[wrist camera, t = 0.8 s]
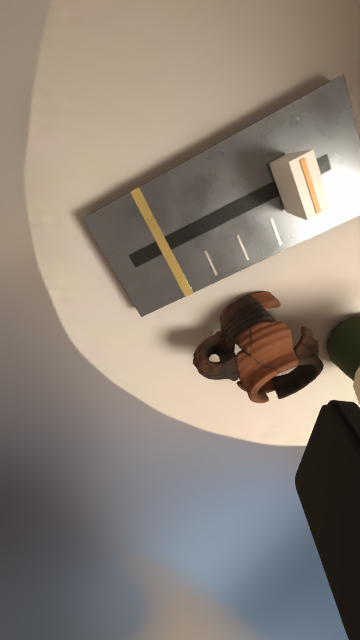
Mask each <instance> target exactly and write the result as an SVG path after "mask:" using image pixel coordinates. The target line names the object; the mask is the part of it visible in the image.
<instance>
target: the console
mask: <svg viewBox="0 0 360 640" xmlns="http://www.w3.org/2000/svg"><path fill="white" fill-rule="evenodd" d="M312 149H313V150H314V153H315V156H316V160H317V163H318V167H319V170H320V173H321V177H322V180H323V184H324V187H325V190H326V194H327V197H328V201H329V204H330V207H331V210H330V211H328V212H326V213H323V214H321V215H319V216H317V217H315V218H313V219H311V220H309V221H307V220H305V219H302V218H299V217H297V216H294V215H292V214H289V213H287V212H286V211H285V208H284V205H283V202H282V199H281V196H280V194H279V191H278V188H277V185H276V182H275V179H274V176H273V174H272V171H271V168H270V165H269V163H271V162H273V161H275V160H277V159H279V158H281V157H282V156H284V155H286V154H288V153H293V152H299V151H306V150H312ZM358 215H360V140H359V136H358V132H357V128H356V124H355V119H354V115H353V111H352V107H351V103H350V99H349V95H348V90H347V86H346V82H345V78H344V74H343V75H341V76H339V77H338V78H336V79H334V80H332V81H330V82H328V83H327V84H325V85H323V86H321V87H319V88H318V89H316V90H314V91H312V92H310V93H309V94H307V95H305V96H303V97H301V98H299V99H298V100H296V101H294V102H292V103H290V104H289V105H287V106H285V107H283V108H281V109H280V110H278V111H276V112H274V113H272V114H270V115H269V116H267V117H265V118H263V119H261V120H260V121H258V122H256V123H254V124H252V125H251V126H249V127H247V128H245V129H243V130H242V131H240V132H238V133H236V134H234V135H232V136H231V137H229V138H227V139H225V140H223V141H222V142H220V143H218V144H216V145H214V146H213V147H211V148H209V149H207V150H205V151H203V152H202V153H200V154H198V155H196V156H194V157H193V158H191V159H189V160H187V161H185V162H184V163H182V164H180V165H178V166H176V167H174V168H173V169H171V170H169V171H167V172H165V173H164V174H162V175H160V176H158V177H156V178H155V179H153V180H151V181H149V182H147V183H145V184H144V185H142V186H140V187H138V188H136V189H135V190H133V191H131V192H129V193H127V194H126V195H124V196H122V197H120V198H118V199H117V200H115V201H113V202H111V203H109V204H107V205H106V206H104V207H102V208H100V209H98V210H97V211H95V212H93V213H91V214H89V215H88V216H86V217H84V218H82V219H83V221H84V222H85V224H86V226H87V227H88V229H89V231H90V232H91V234H92V236H93V237H94V239H95V241H96V242H97V244H98V246H99V247H100V249H101V251H102V252H103V254H104V256H105V257H106V259H107V261H108V262H109V264H110V266H111V267H112V269H113V271H114V272H115V274H116V276H117V277H118V279H119V281H120V282H121V284H122V286H123V287H124V289H125V291H126V292H127V294H128V296H129V297H130V299H131V301H132V302H133V304H134V306H135V307H136V309H137V311H138V312H139V314H140V316H141V317H143V316H145V315H147V314H149V313H151V312H153V311H155V310H157V309H160V308H162V307H164V306H166V305H168V304H170V303H172V302H174V301H177V300H179V299H181V298H183V297H186V296H188V295H190V294H193V293H194V292H196V291H198V290H200V289H202V288H204V287H206V286H209V285H211V284H213V283H215V282H217V281H219V280H221V279H224V278H226V277H228V276H230V275H232V274H234V273H236V272H238V271H241V270H243V269H245V268H247V267H249V266H251V265H253V264H255V263H258V262H260V261H262V260H264V259H266V258H268V257H270V256H273V255H275V254H277V253H279V252H281V251H283V250H285V249H287V248H290V247H292V246H294V245H296V244H298V243H300V242H302V241H304V240H307V239H309V238H311V237H313V236H315V235H317V234H319V233H322V232H324V231H326V230H328V229H330V228H332V227H334V226H336V225H339V224H341V223H343V222H345V221H347V220H349V219H351V218H353V217H356V216H358Z"/></svg>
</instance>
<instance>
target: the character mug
mask: <svg viewBox="0 0 360 640" xmlns="http://www.w3.org/2000/svg"><path fill="white" fill-rule="evenodd" d="M327 349H328V353H329V357H330V360H331V361H332V362H333V363H334V364H335V365H336V366H337V367H339V368H340V369H341V370H342V371H343V372H344V373H345V374H346V375H347V376H348V377H350V378H351V379H352V380H353V381H354V384H353V387H354V390H355V393H356V396H357V399H358V402H359V404H360V317H353V318H351V319H349V320H347V321H345V322H343V323H341V324H339V325H338V327H337V328H336V329H335V330H334V331H333V332H332V333H331V335H330V338H329V342H328V346H327Z"/></svg>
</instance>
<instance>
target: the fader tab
mask: <svg viewBox="0 0 360 640" xmlns="http://www.w3.org/2000/svg"><path fill="white" fill-rule="evenodd" d="M269 165H270V168H271V171H272V174H273V176H274V179H275V182H276V185H277V188H278V191H279V194H280V196H281V199H282V202H283V205H284V208H285V211H286V212H287V213H289V214H292V215H294V216H297V217H299V218H302V219H305V220H307V221H309V220H311V219H313V218H315V217H317V216H319V215H321V214H323V213H326V212H328V211H330V210H331V207H330V204H329V201H328V197H327V194H326V190H325V187H324V184H323V180H322V177H321V173H320V170H319V167H318V163H317V160H316V156H315V153H314V150H313V149H312V150H306V151H299V152H293V153H288V154H286V155H284V156H282V157H281V158H279V159H277V160H275V161H273V162H271V163H269Z"/></svg>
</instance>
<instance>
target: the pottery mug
mask: <svg viewBox="0 0 360 640" xmlns="http://www.w3.org/2000/svg"><path fill="white" fill-rule="evenodd" d="M279 306H280V302H279V300H278V299H276V298H275V297H274V296H273V295H272V294H271V293H269V292H257V293H254V294H251V295H248V296H245V297H243V298H241V299H238V300H237V301H236V302H234V303H233V304H231V305H230V306H229V307H228V308H227V309H226V310H225V311H224V313H223V314H222V315H221V317H220V320H221V331H218V332H216V334H215V335H214V336H211V337H209V338H207V339H206V340H204V341H203V342H202V343H201V344H200V345H199V346H198V347H197V349H196V350H195V353H194V359H193V364H194V365H195V367H196V368H197V369H198V372H199V373H200V374H201V375H203V376H204V377H206V378H208V379H214V380H220V379H230V380H232V381H236V380H238V378H239V379H240V381H238V382H237V385H238V386H239V387H240V388H241V389H242V390H244V391H247V393H248V396H249V398H250V400H251V401H253V402H256V403H265V402H267V401H269V398H268V397H267V395H266V393H269V392H272V391H276V393H277V396H278V399H282V398H285V397H287V396H289V395H292V394H294V393H296V392H297V391H299V390H301V389H302V388H304V387H305V386H307V385H308V384H309V383H311V382H312V381H313V380H314V379H316V377H317V376H318V375H319V374H320V373H321V371H322V370H323V366H324V365H323V363H322V361H321V360H320V358H319V357H318V352H319V346H318V341H317V340H315V339H314V338H313V334H312V331H311V330H310V329H308V328H306V327H302V328H301V334H302V336H301V337H300V340H299V342H298V344H297V345H296V346H295V347H294V348H293V342H292V335H291V329H290V328H289V327H288V326H287V325H286V324H285V323H283V322H275V319H274V318H273V317H272V316H271V315H270V314H269V313H268V312H267V311H266V309H269V308H276V307H279ZM235 344H237V345H238V346H239V347H240V348H241V349H242V350H241V351H240V352H238V354H237V355H236V354H235V353H234V350H235ZM212 354H216V355H218V356H219V359H220V361H219V362H211V361H210V360H209V357H210V356H211V355H212ZM298 365H299V366H298ZM296 366H297V367H296ZM293 367H296V368H295V369H294V370H293V371H291V372H289V373H288V374H285V375H281V376H276V375H278V374H279V373H281V372H283V371H286V370H288V369H290V368H293ZM275 376H276V377H275Z"/></svg>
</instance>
